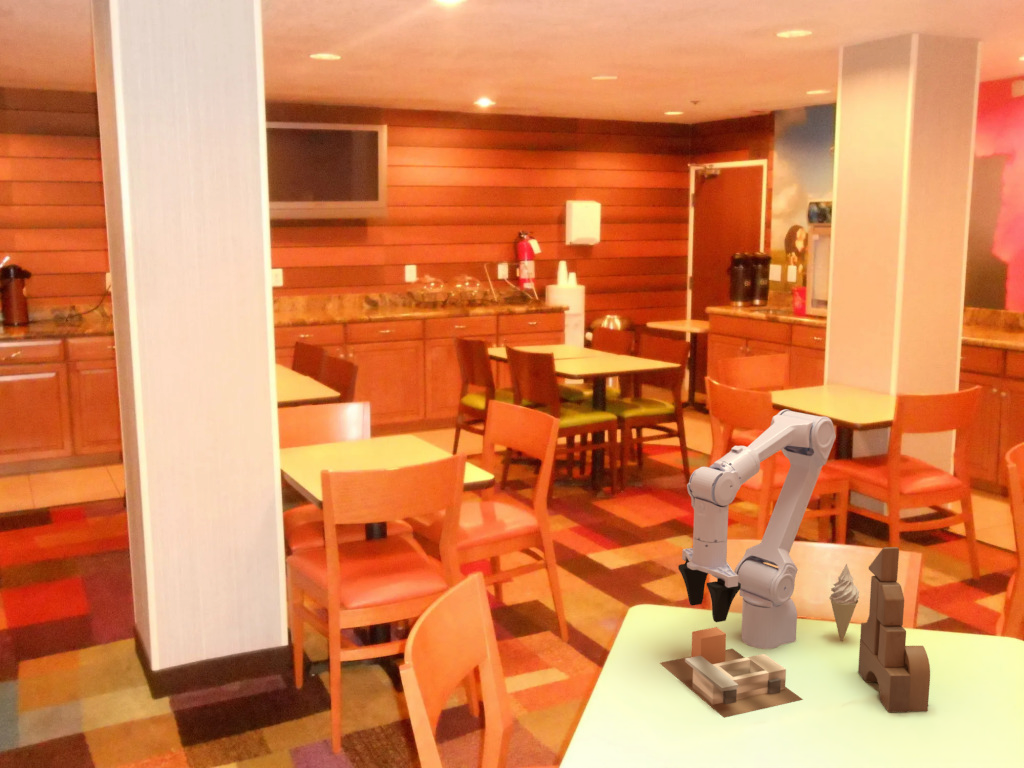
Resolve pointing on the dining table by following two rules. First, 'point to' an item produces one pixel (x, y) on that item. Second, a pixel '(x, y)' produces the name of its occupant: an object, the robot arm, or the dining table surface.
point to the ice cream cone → (844, 601)
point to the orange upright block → (709, 645)
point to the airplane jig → (734, 682)
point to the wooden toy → (892, 642)
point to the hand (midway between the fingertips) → (707, 612)
